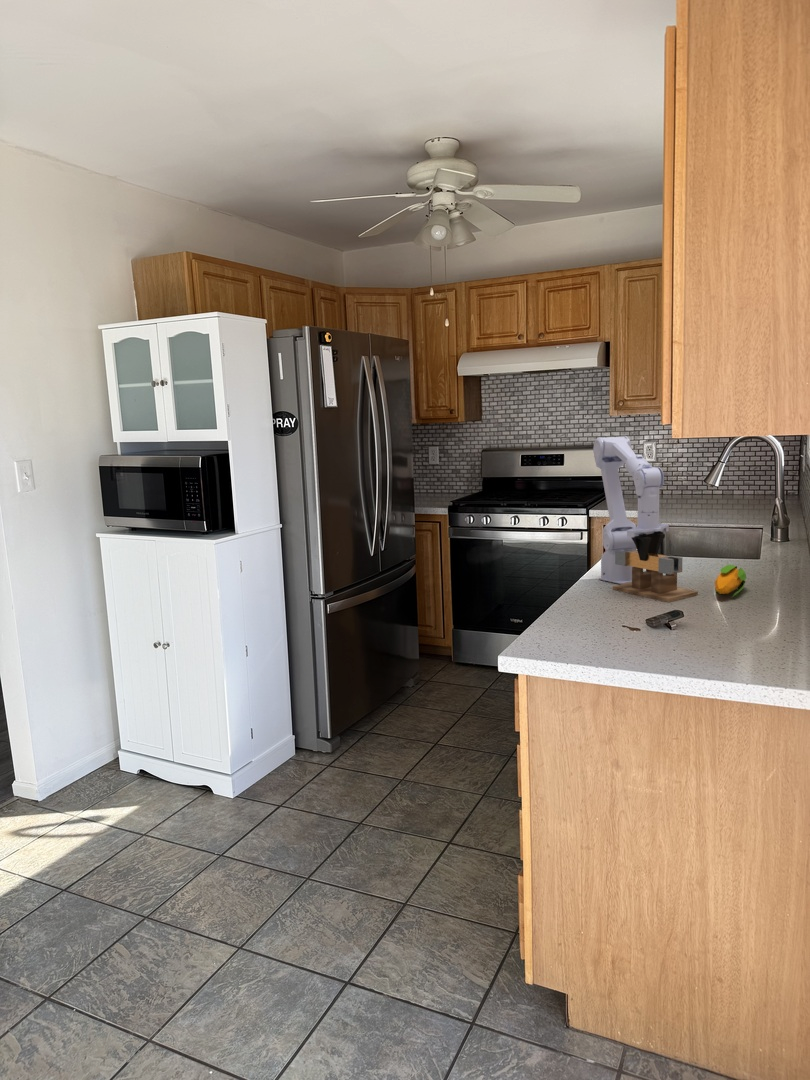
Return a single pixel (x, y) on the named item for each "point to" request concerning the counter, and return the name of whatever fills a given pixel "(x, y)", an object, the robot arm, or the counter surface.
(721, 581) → the corn
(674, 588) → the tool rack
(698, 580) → the counter surface
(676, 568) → the spanner
